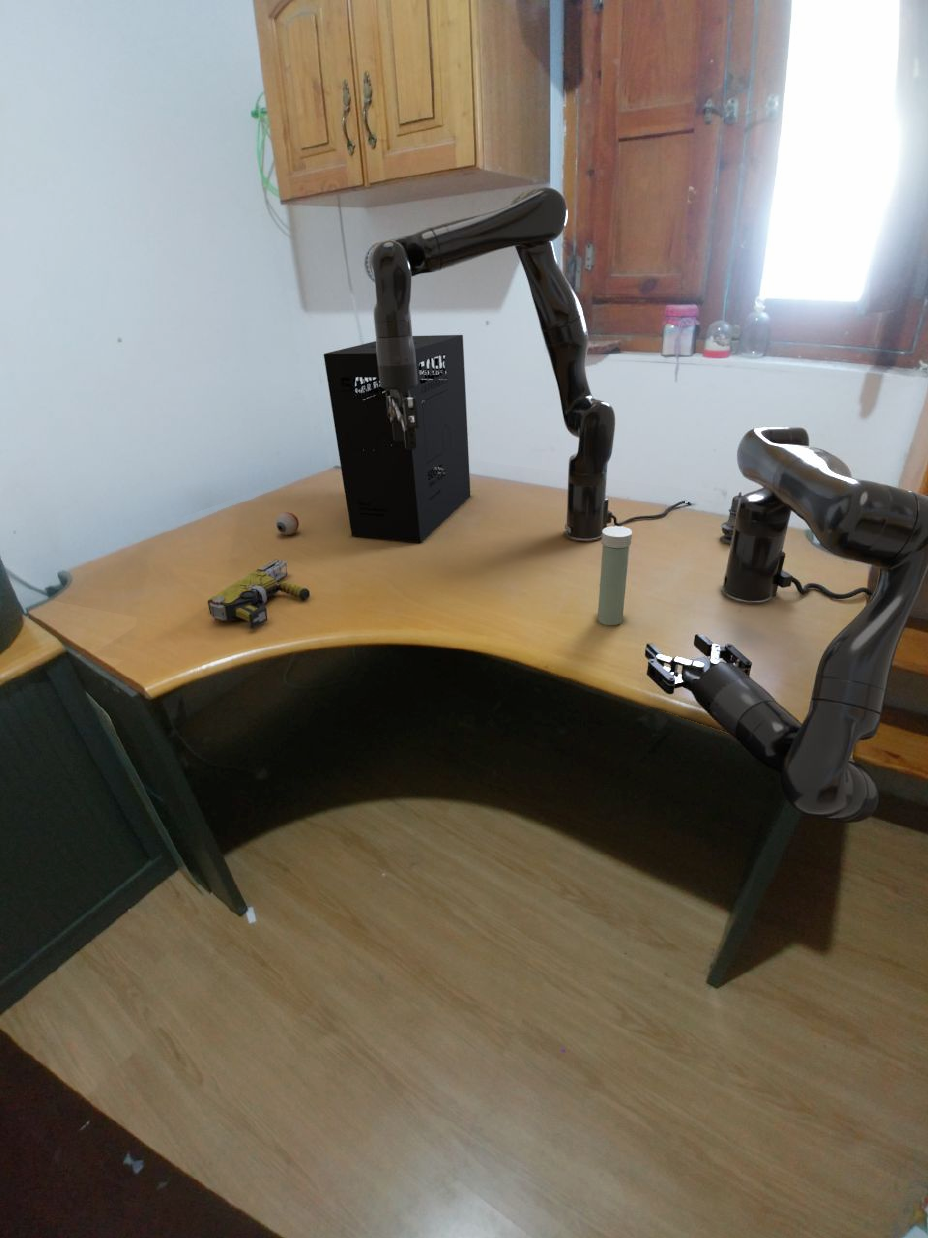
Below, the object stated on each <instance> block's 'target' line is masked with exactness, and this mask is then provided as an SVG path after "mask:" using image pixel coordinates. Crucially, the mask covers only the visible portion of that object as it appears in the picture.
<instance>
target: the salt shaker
mask: <svg viewBox="0 0 928 1238" xmlns="http://www.w3.org/2000/svg"><path fill="white" fill-rule="evenodd" d="M742 496H743V495H742V492H741V491H739V493H738V495H735V496H733V497H732V500H731V505H730V508H729V509H728V513H729V514H728V519H727V521H724V522H722V523H721V524H720V527H721V531H722V534H723V535H722V536H720V538H719V540H720V541H721V542H722V543H725V544H729V545H731V541H732V536H733V530H734V524H735V519H736V514H737V508H738V503H739V500H740V498H741V497H742Z"/></svg>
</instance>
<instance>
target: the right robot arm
mask: <svg viewBox="0 0 928 1238" xmlns="http://www.w3.org/2000/svg"><path fill="white" fill-rule="evenodd" d="M736 461H737V466H738V469H739V472H740V473H741V475H742V477H744V478H745V479H746V480H748V481H751V482H753V483H756V484H757V485H759V486H761V488H759V489H756V490H753V491H750V492H748V493H745V494H744V495H742V497H741V498H740V500H739V503H738V508H737V514H736V519H735V524H734V530H733V536H732V541H731V544H730V546H729V553H728V558H727V562H726V563H727V564H726V568H725V572H724V573H723V577H724V578H723V581H722V582H723V584H722V586H721V587H722V588H721V592H722V595H724V597H726V598H727V599H729V600H730V601H733V602H737V603H741V604H746V605H761V604H765V603H768V602H770V601H772V598H775V597H776V596H777V593H778V589H779V587H780V588H782V589H785V588H789V587H791V586H792V583H793V584H794V585H795V587H796V590H797V593H799V594H802V595H805V594H807V593H808V591H809V590H810V589H815V590H818V591H820V592H821V593H823V594H824V595H826V596H828V597H829V598H831V599H836V600H845V599H846V600H847V599H851V598H853V597H855V596H857V595H859V594H862V593H865V594H866V595H867V596H871V597H870V599H869V601H868V602H867V604H866V605H865V606H863V608H862V610H861V611H860V612H859V613H858V614H856V616H855V617H854V618H853V619H852V620H851V621H850V622H849V623H848V624H847V625H846V626H845V627H844V628H843V629H841V631H840V632H839V633H838V634H837V635H836V636H835V637H834V638H832V640H831V642H830V643H829V644H828V645H827V647H825V650H824V651H823V653H822V655H821V657H820V660H819V662H818V665H817V668H816V672H815V678H814V682H813V687H812V691H811V696H810V701H809V706H808V707H809V708H808V711H807V714H806V716H805V717H804V719H803V721H802V722H801V721H799V719H797V718H796V717H795V716H794V715H793V714H792V713H790V712H789V711H788V710H787V709H786V708H785V707H784V706H782V705H781V704H779V702H778V701H777V700H776V699H775V698H774V697H773V696H772V694H771V693H769V691H767V690H766V689H765V688H764V687H762V686H761V685H760V684H759V683H758V682H757V681H756V680H754V679H753V678H752V677H751V676H750V675H751V671H752V667H753V662H752V661H751V660H750V659H749V658H748V657H746V656H745V655H744V654H743V653H742V652H741V651H740V650H738V648H737V647H735V645H734V644H731V643H725V644H724V646H721V645H720V644H718V643H714V642H713V641H712V640H710V639H709V638H708V637H707V636H704V635H703V634H701V633H696V634H694V639H693V646H694V647H695V648H696V649H697V650H698V651H699V652H701V653H702V654H703V655H704V656H703V655H702V656H700V657H697V658H689V659H686V658H683V657H680V656H674V657H670V656H667V655H664V653H663V652H662V650H660V649H659V648H658V647H657V646H656V645H655V644H654V643H653V642H649V643H646V644H645V645H646V646H645V648H644V657H645V658H646V659H647V667H646V668H647V669H646V676H647V677H648V678H649V679H651V681H652V682H653V683H655V684H656V685H657V686H658V687H659V688H660V689H661V690H662V691H663V692H664V693H665V694H667V695H673V694H675V690H676V689H680V688H683V689H685V690H688V691H689V692H690V693H691V694H692V695H693V698H694V699H695V702H696V703H697V704H698V705H699V706H700V707H701V708H702V709H703V710H704V711H705V712H706V713H707V714H708V715H709V716H710V717H711V718H712V720H714V721H715V722H716V724H718V725H719V727H721V728H722V729H723V730H724V731H725V732H726V733H728V734H729V735H730V736H732V737H733V738H734V739H735V740H737V741H738V742H739V743H740V744H741V745H742V746H743V747H744V748H745V749H746V750H747V751H748V753H750V754H751V755H752V756H753V757H754V758H755V759H756V760H757V761H759V763H761V764H763V765H764V766H766V767H768V768H770V769H772V770H774V771H776V772H779V773H780V781H781V787H782V788H781V789H782V791H783V794H784V797H785V798H786V800H787V802H788V803H789V804H790V806H792V807H793V808H794V809H796V810H797V811H799V812H801V813H803V814H805V815H809V816H813V817H817V818H822V819H826V820H829V821H830V820H831V821H834V822H838V823H843V824H854V823H855V824H856V823H860V822H864V821H865V820H867V819H869V818H870V817H871V816H872V815H874V813H875V812H876V810H877V808H878V806H879V803H880V801H879V800H880V794H879V793H880V792H879V788H878V786H877V784H876V781H875V779H874V778H873V776H872V775H871V773H869V771H867V769H866V768H864V766H862V765H861V763H859V762H858V761H856V760H855V759H854V758H852V755H853V752H854V750H855V747H856V746H857V743H858V742H859V741H865V740H870V739H872V738H874V737H875V736H876V734H877V733H878V730H879V727H880V724H881V719H882V714H883V709H884V705H885V700H886V695H887V689H888V684H889V680H890V679H889V678H890V674H891V670H892V665H893V662H894V658H895V655H896V652H897V649H898V645H899V642H900V640H901V638H902V634H903V632H904V629H905V627H906V625H907V623H908V620H909V617H910V615H911V613H912V610H913V608H914V605H915V603H916V600H917V598H918V595H919V592H920V590H921V588H922V585H923V583H924V580H925V577H926V575H927V572H928V495H925V494H922V493H918V492H915V491H911V490H909V489H904V488H900V487H896V486H893V485H888V484H884V483H880V482H877V481H873V480H867V479H866V480H865V479H861V478H860V479H859V478H855V477H853V476H852V471H851V470H850V467H849V466H848V465H847V464H846V463H845V462H844V461H843V459H841V458H839V457H838V456H836V455H834V454H832V453H830V452H828V451H826V450H824V449H821V448H819V447H815V446H811V445H810V437H809V433H808V432H807V429H806V428H804V427H802V426H761V427H756V428H752V429H750V430H748V431H747V432H746V433H744V435H743V436H742V437H741V439H740V441H739V443H738V446H737V450H736ZM792 513H794V514H795V515H796V516H797V517H799V518H800V519H801V520H803V521H804V522H805V524H806V525H807V527H808V528H809V529H810V531H811V532H812V534H813V535H814V537H815V539H816V540H817V541H818V542H819V543H820V545H821V546H822V547H823V548H824V549H825V550H827V551H828V552H829V553H831V554H833V555H835V556H837V557H840V558H844V559H847V560H852V561H856V562H860V563H862V564H863V563H864V564H867V565H871V566H874V567H877V568H878V577H877V582H876V584H875V585H876V586H875V587H874V591H872V590H871V589H870V588H868V587H864V586H863V587H858V588H856V589H854V590H852V591H850V592H846V593H836V592H832V591H831V590H829V589H828V588H826V587H825V586H824V585H822V584H819V583H816V582H815V583H814V582H810V583H809V582H808V583H806V584H805V585H804V586H802V583H801V582H800V580H799V579H797V578H796V577H794V576H793V575H792V574H790V573H789V572H787V571H785V570H784V569H783V567H784V564H785V558H786V553H785V551H783V549H784V545H785V540H786V536H787V531H788V527H789V524H790V523H789V522H790V519H791V514H792ZM721 659H722V660H723V661H721ZM665 664H666V665H669V667H667V666H665ZM679 666H681V672H680V673H681V674H680V673H679V672H678V669H679Z"/></svg>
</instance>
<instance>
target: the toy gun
mask: <svg viewBox="0 0 928 1238" xmlns="http://www.w3.org/2000/svg"><path fill="white" fill-rule="evenodd" d="M283 568H285V571H282V569H283ZM288 573H289V572H288V563H287V561H286V560H280V559H278V558H276V559H274V560H272V561H271V562H269V563H268V564H266V565H264V566H263V567H262V568H258V569H256V570H254V571H253V572H251V573H250V574H248V575H246V576H245V577H243V578H241V579H240V580H238V581H237V582H235V583H233V584H232V585H230V586H228V587H227V588H224V590H222V591H220V592H218V593H217V594H215V595H213V596H212V597H210V598H209V599H207V605H208V613H209V615H210V616H211V618H213V619H214V621H215V622H217V621H218V622H219V623H222V622H223V621H225V622H231V621H236V620H244V621H246V622H248V623H249V626H250V628H251V629H254V628H257V627H258V626H260V625H262V624H264V623H265V622H267V621H268V620H269V619H268V611H267V607H266V606H265V604H266V603H267V601H268V598H269V597H271V596H274V595H275V594H278V593H279V592H282V593H285V594H288V595H290V596H294V597H295V598H299V599H300V600H302V601H305V600H307V599H309V598H310V596H311V595H310V594H311V593H310V589H308V588H306V587H301V586H300V585H298V586H297V585H296V584H293V583H291V582H288V581H286V580H285V581H282V582H281V583H280V584H278V581H279V580H281V579H282V578H283V577H286V576H288Z"/></svg>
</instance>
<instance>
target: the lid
mask: <svg viewBox="0 0 928 1238" xmlns="http://www.w3.org/2000/svg"><path fill="white" fill-rule="evenodd" d="M632 538H633V530H632V529H631V528H628V527H626V526H622V525H620V526H616V525H611V526H607V527H606V528H604V529H603V530H602V538H601V544H602V546H603V545H605V546H607V547H610V548H625V547H628V546H629V547H630V545H631V544H632Z"/></svg>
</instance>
